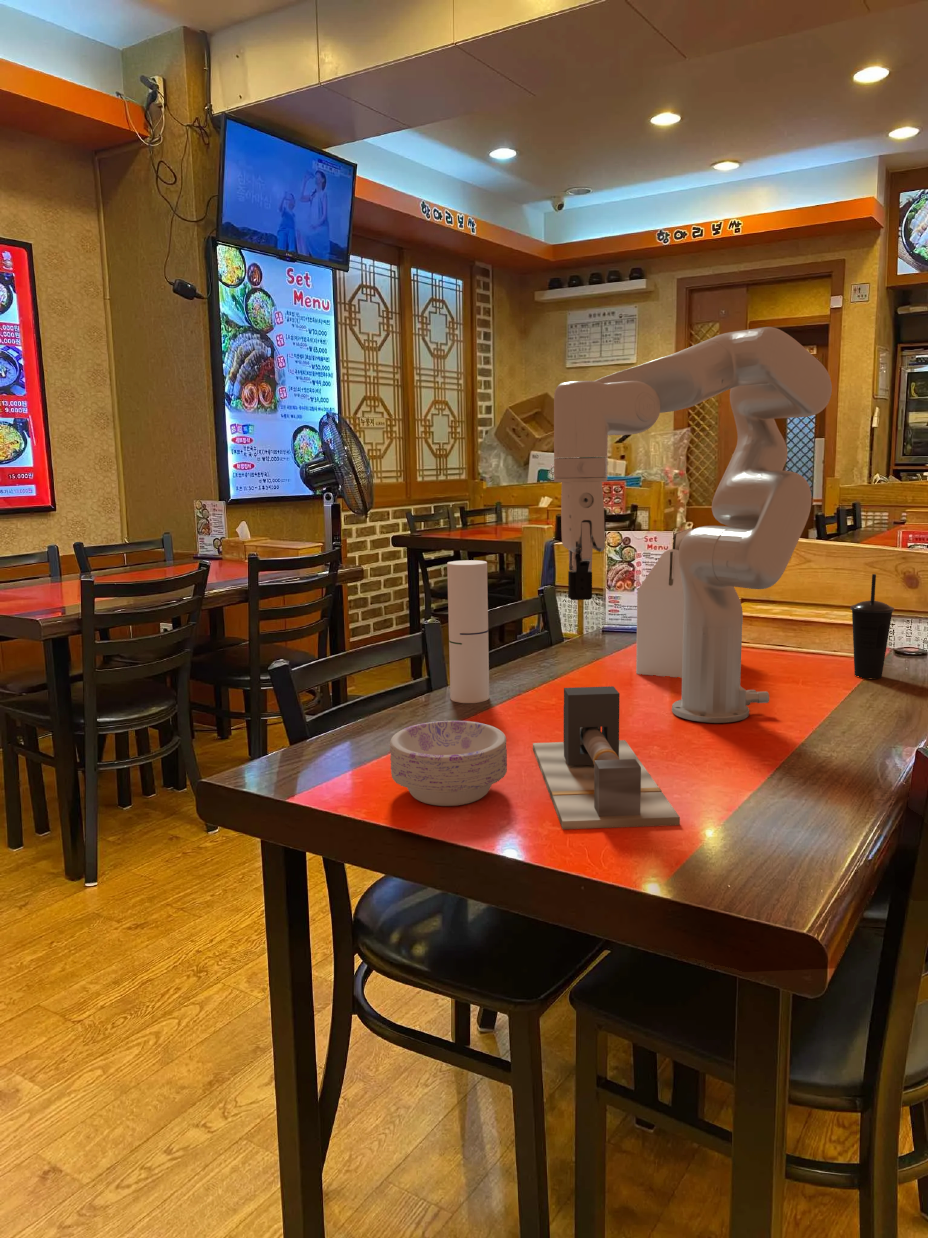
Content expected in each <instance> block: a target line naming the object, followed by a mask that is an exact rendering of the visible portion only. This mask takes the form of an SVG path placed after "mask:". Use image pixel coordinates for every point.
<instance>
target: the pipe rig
mask: <svg viewBox="0 0 928 1238" xmlns="http://www.w3.org/2000/svg"><path fill="white" fill-rule="evenodd" d="M580 745H584V746H585V748H586V750H587V752H588V754H589V755H590V757H591V759H592V761H593V763H594V765H573V766H568V764H567V762H566V760H565V757H564V741H557V742H555V741H554V742H532V750H533V754H534V756H535V759H536V761H537V763H538V764H537V765H538V767H539V770H540V773H541V775H542V778H543V780H544V784H545V786H546V789H547V791H548V794H549V797H550V799H551V802H552V805H553V807H554V810H555V812H556V816H557V818H558V821H559V823H560V826H561V829H562V830H579V829H580V830H581V829H607V828H608V829H611V828H635V827H663V826H680V825H681V821H680V820H681V817H680V815H679V814H678V813H677V811H676V809H675V808H674V806H672V803H670V802H669V800H668V798H667V797H666V795H665V794H664V793H663V791H662V789H661V788H660V787H659V786H658V784H657V783H656V781H655V780H654V779H653V777H652V776H651V774H650V773H649V771H648V770H647V769H646V767H645V766H644V764H643V763H642V761H640V759H639V758H638V756H637V755H636V753H635V752H634V750H633V749H632V748H631V746H630V745H629V743H628V742H627V740H626V739H619V757H618V756H617V754H616V753H615V752H614V751H613V749H612V748H611V746H610V745H609V743H608V742H607V740H606V738H605V737H604V735H603V734H602V727H580Z"/></svg>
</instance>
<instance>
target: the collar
mask: <svg viewBox="0 0 928 1238" xmlns="http://www.w3.org/2000/svg"><path fill="white" fill-rule="evenodd" d="M580 727H601V732H602V734H603V735H604V737H605V738H606V740H607V742H608V743H609V745H610V746H611V748H612V749H613V751H614V752H615V753H616V754H617V756H618V757H619V740H620V692H619V691H618V690H617V689H616V687H615V686H612V685H611V686H610V685H609V686H586V687H585V686H581V687H563V742H564V757H565V760H566V762H567V764H568V766H573V765H594V763H593V761H592V759H591V757H590V755H589V754H588V752H587V750H586V748H585V746H584V745H580Z"/></svg>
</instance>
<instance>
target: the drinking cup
mask: <svg viewBox="0 0 928 1238" xmlns="http://www.w3.org/2000/svg"><path fill="white" fill-rule="evenodd" d="M876 582H877V574H876V573H872V574H871V586H870V587H871V589H870V592H871V593H870V600H864V601H859V602H857V603H855V604H852V605H851V606H850V610H851V618H852V620H851V621H852V642H853V643H852V646H853V665H854V667H853V669H854V676H855V675H856V676H859V677H862V678H861V679H863V678H880V679H881V678H882V677H883V671H884V666H885V658H886V653H887V646H888V640H889V635H890V633H889V632H890V628H891V621H892V615H893V612H894V611H895V607H893V606H891V605H889V604H887V603H885V602H882V601H878V600H875V599H876V598H875V597H876V584H877V583H876ZM856 676H855V677H856Z"/></svg>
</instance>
